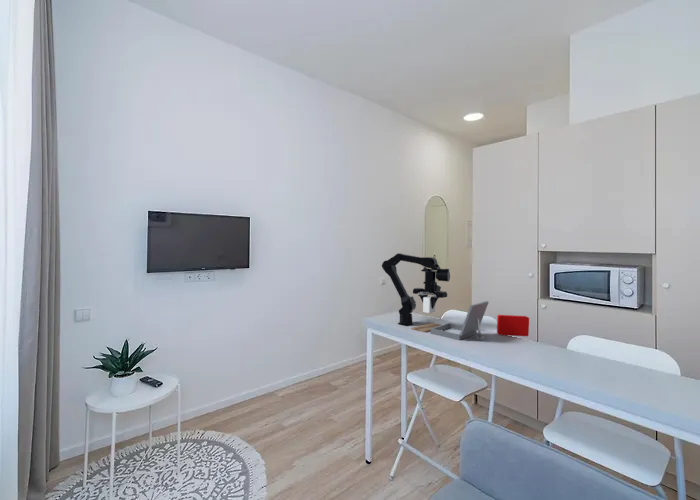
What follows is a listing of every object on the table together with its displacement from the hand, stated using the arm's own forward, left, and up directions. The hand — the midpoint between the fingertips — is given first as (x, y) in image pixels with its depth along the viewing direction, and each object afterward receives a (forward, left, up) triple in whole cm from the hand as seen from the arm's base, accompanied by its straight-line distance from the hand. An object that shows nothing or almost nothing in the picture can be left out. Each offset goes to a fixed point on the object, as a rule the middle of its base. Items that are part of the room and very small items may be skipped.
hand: (429, 308), depth 190 cm
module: (0, 0, -2) cm, 2 cm away
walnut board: (0, 0, -11) cm, 11 cm away
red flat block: (+37, +22, -11) cm, 44 cm away
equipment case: (+19, 0, -11) cm, 22 cm away
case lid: (+26, 0, -1) cm, 26 cm away
